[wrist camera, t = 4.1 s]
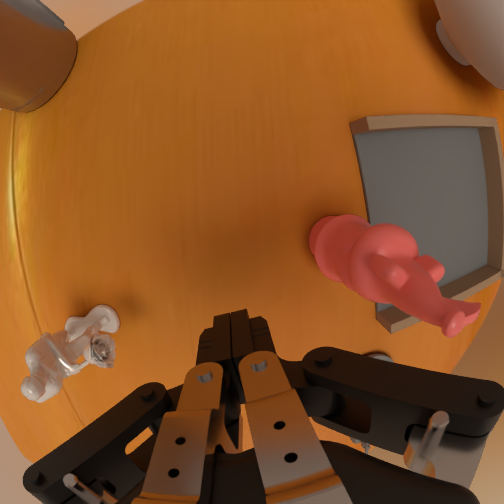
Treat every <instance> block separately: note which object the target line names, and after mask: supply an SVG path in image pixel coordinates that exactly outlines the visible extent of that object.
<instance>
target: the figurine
mask: <svg viewBox="0 0 504 504" xmlns="http://www.w3.org/2000/svg"><path fill="white" fill-rule="evenodd" d="M119 327H120V321H119V317H118V315H117V313H116V312H115V310H114V309H113V308H111V307H110V306H108V305H103V304H102V305H97V306H95V307H94V308H93V309H92V310H91V311H90V312H89V313H88V314H87V315H86V316H85V317H78V316H71V317H69V318H68V319H67V321H66V324H65V330H61V331H58V332H56V333H54V334H52V335H51V334H50V333H49V332H46V333H44V334H42V336H41V338H40V339H39V340H37V341H36V342H35V343H34V344H32V345H31V346H30V347H29V348H28V350H27V352H26V354H25V360H26V363H27V365H28V368H29V370H30V375H31V376H29V377H25V378H24V380H23V382H22V384H21V391H22V393H23V395H24V396H25V397H26V398H28V399H29V400H32V401H36V402H38V403H42V402H44V401H46V400H48V399H50V398H51V397H53V396H55V395H56V394H58V393H59V392H60V390H61V389H62V386H63V379H65V378H67V377H69V376H71V375H72V374H73V375H75V374H77V373H79V372H80V371H81V369H82V368H83V367H85V366H86V365H88V364H89V363H90V364H93V365H97V366H98V367H103V368H104V367H105V368H113V367H114V363H115V362H114V359H115V356H116V354H115V351H114V350H115V348H116V347H115V341H114V340H113V339H111V336H110V335H107V334H99V331H105V332H109V333H115V332H117V331H118V329H119ZM69 341H70V342H69ZM82 354H83V355H84V358H85V359H86V360H85V361H83V362H82V363H80V364H77V363H76V361H77V360H78V359H79V357H80V356H81V355H82Z"/></svg>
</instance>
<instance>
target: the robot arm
mask: <svg viewBox="0 0 504 504" xmlns="http://www.w3.org/2000/svg"><path fill="white" fill-rule="evenodd" d="M76 51H77V41H76V38H75V36H74V35H73V33H72V32H71V31H70V30H69V29H68V28H67V27H65V26H64V21H63V20H62V19H60V18H59V17H58V16H57V15H56V14H55V13H54V12H52V11H51V10H50V9H49V8H48V7H47V6H45V5H44V4H43V3H42V2H41V1H40V0H0V108H3V109H8V110H12V111H16V112H23V113H26V112H30V111H33V110H35V109H37V108H39V107H40V106H42V105H43V104H44V103H46V102H47V101H48V100H49V99H50V98H51V97H52V96H53V95H54V94H55V93H56V92H57V90H58V89H59V88H60V87H61V86H62V84H63V82H64V81H65V79H66V78H67V76H68V74H69V72H70V70H71V68H72V66H73V63H74V60H75V57H76ZM244 403H245V409H246V413H247V418H248V422H249V427H250V431H251V436H252V440H253V444H254V448H252V449H249V450H246V451H244V452H242V438H243V418H242V415H241V407H240V404H244ZM503 410H504V388H503V387H502V386H501V385H500V384H498V383H496V382H494V381H489V380H482V379H475V378H469V377H463V376H457V375H452V374H446V373H441V372H436V371H430V370H425V369H421V368H416V367H411V366H407V365H402V364H398V363H393V362H389V361H385V360H380V359H376V358H372V357H368V356H364V355H360V354H357V353H353V352H349V351H345V350H341V349H338V348H334V347H320V348H316V349H313V350H311V351H310V352H308V353H307V354H306V355H305V356H304V357H303V360H302V361H286V360H283V359H281V358H280V357H278V355H277V354H276V351H275V348H274V344H273V341H272V337H271V334H270V330H269V327H268V323H267V320H265V319H264V318H262V317H261V316H259V317H255V318H251V319H249V315H248V312H247V309H243V310H239V311H235V312H231V314H230V313H226V314H222V315H218V316H214V321H213V327H212V328H208V329H205V330H204V331H203V332H202V334H201V335H200V338H199V345H198V352H197V359H196V366H195V367H193V368H192V369H190V370H189V371H188V373H187V374H186V377H185V380H184V384H182V385H180V386H177V387H175V388H172V389H169V390H166V388H165V386H164V385H163V384H161V383H157V382H151V383H147V384H144V385H142V386H140V387H138V388H137V389H136V390H134V391H133V392H132V393H131V394H129V395H128V396H127V397H125V398H124V399H123V400H121V401H120V402H119V403H117V404H116V405H115V406H113V407H112V408H111V409H110V410H108V411H107V412H106V413H104V414H103V415H102V416H100V417H99V418H97V419H96V420H95V421H93V422H92V423H91V424H89V425H88V426H87V427H85V428H84V429H83V430H81V431H80V432H78V433H77V434H76V435H74V436H73V437H71V438H70V439H69V440H67V441H66V442H64V443H63V444H62V445H60V446H59V447H57V448H56V449H55V450H53V451H52V452H50V453H49V454H47V455H46V456H44V457H43V458H42V459H40V460H39V461H37V462H36V463H34V464H33V465H31V466H30V467H29V468H28V469H27V470H26V471H25V473H24V476H23V485H24V487H25V489H26V490H27V491H28V492H30V493H31V494H32V495H33V496H35V497H36V498H37V499H38V500H40V501H41V502H42V503H43V504H480V503H479V501H478V499H477V497H476V496H475V495H474V494H473V493H472V492H471V491H470V490H469V487H470V485H471V482H472V480H473V478H474V475H475V472H476V470H477V467H478V464H479V462H480V459H481V456H482V453H483V450H484V447H485V443H486V440H487V438H488V436H489V435H490V433H491V431H492V430H493V428H494V426H495V424H496V423H497V421H498V419H499V417H500V415H501V414H502V412H503ZM308 417H312V419H313V420H314V421H315V422H317V423H318V424H321V425H323V426H325V427H328V428H330V429H332V430H335V431H337V432H339V433H342V434H344V435H347V436H349V437H352V438H355V439H357V440H360V441H362V442H365V443H368V444H371V445H373V446H376V447H379V448H382V449H385V450H388V451H391V452H394V453H397V454H401V455H404V457H403V458H404V463H405V465H406V466H407V467H408V468H409V469H410V470H411V471H410V470H407V469H404V468H401V467H398V466H396V465H393V464H390V463H388V462H385V461H383V460H380V459H377V458H375V457H373V456H370V455H368V454H365V453H363V452H361V451H358V450H356V449H354V448H351V447H349V446H347V445H344V444H340V443H336V442H331V441H323V440H319V439H318V437H317V435H316V433H315V430H314V428H313V426H312V424H311V422H310V420H309V418H308ZM147 427H149V429H150V430H151V431H152V433H153V435H151V436H150V437H149V438H148V439H147V440H146V441H145V442H143V443H142V444H141V445H140V446H139V447H137V448H136V449H135V450H134V451H133V452H132V453H130V454H127V455H126V453H125V448H126V446H127V444H128V443H129V442H131V441H132V440H133V439H134V438H135V437H137V436H138V435H139V434H140V433H141V432H143V431H144V430H145V429H146V428H147ZM413 471H414V472H413Z"/></svg>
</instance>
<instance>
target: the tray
mask: <svg viewBox="0 0 504 504" xmlns="http://www.w3.org/2000/svg"><path fill="white" fill-rule="evenodd" d="M350 128H351V132H352V136H353V140H354V145H355V149H356V154H357V158H358V163H359V168H360V173H361V179H362V184H363V190H364V196H365V202H366V209H367V216H368V223H369V224H370V225H371V226H373V225H376V224H382V223H390V224H395V225H398V226H401V227H402V228H404V229H406V230H407V231H408V232H409V233H411V235H412V236H413V237H414V239H415V240H416V243H417V246H418V250H419V257H420V256H422V255H429V256H431V257H433V258H435V259H436V260H437V261H439V262H440V263H441V264H442V265H443V266H444V269H445V273H444V276H443V277H442V278H441V279H440V280H439V281H438V282H437V283H436V284H437V285H438V287H439V290H440V292H441V295H442V297H445V298H450V299H454V300H459V301H462V300H464V299H466V298H468V297H470V296H472V295H474V294H475V293H477V292H479V291H481V290H482V289H484V288H486V287H487V286H489V285H491V284H493V283H494V282H496V281H497V280H499V279H501V278H502V277H504V159H503V152H502V145H501V139H500V134H499V129H498V124H497V119H496V118H491V117H480V116H465V115H440V114H411V115H384V116H369V117H364V118H362V119H359V120H357V121H354V122H352V123H350ZM376 319H377V320H378V321H379V322H380V323H381V324H382V325H383V326H384V327H385V328H386V329H387V331H388V332H389V333H390V334H392V333H395V332H397V331H399V330H402V329H404V328H406V327H409V326H411V325H413V324H415V323H418V322H420V321H422V320H420V319H418V318H415V317H413V316H411V315H409V314H407V313H405V312H403V311H401V310H400V309H398V308H397V307H396V306H394V305H393V304H384V303H377V302H376Z"/></svg>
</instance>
